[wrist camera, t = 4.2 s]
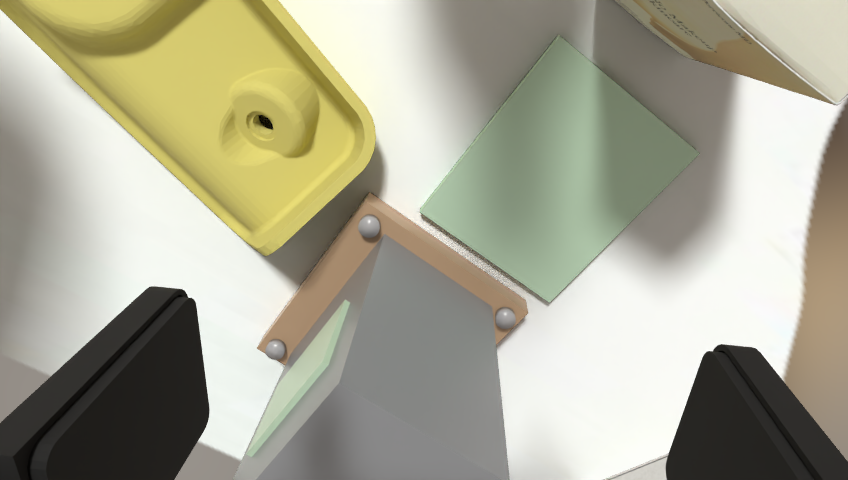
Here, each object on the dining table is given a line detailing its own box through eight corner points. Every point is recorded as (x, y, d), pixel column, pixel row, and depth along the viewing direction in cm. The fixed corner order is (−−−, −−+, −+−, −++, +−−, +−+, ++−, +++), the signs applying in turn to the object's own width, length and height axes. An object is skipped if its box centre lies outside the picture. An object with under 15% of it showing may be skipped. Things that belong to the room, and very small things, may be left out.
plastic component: (394, 141, 28) (251, 274, 27) (362, 137, 35) (246, 243, 34) (69, -252, 21) (-146, -91, 20) (108, -160, 28) (-51, -37, 27)
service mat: (420, 208, 32) (419, 212, 32) (558, 34, 28) (560, 36, 27) (548, 297, 34) (549, 302, 34) (695, 150, 30) (700, 153, 29)
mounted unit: (264, 335, 37) (155, 528, 24) (369, 192, 32) (305, 336, 19) (407, 420, 39) (381, 638, 26) (525, 300, 34) (565, 493, 21)
